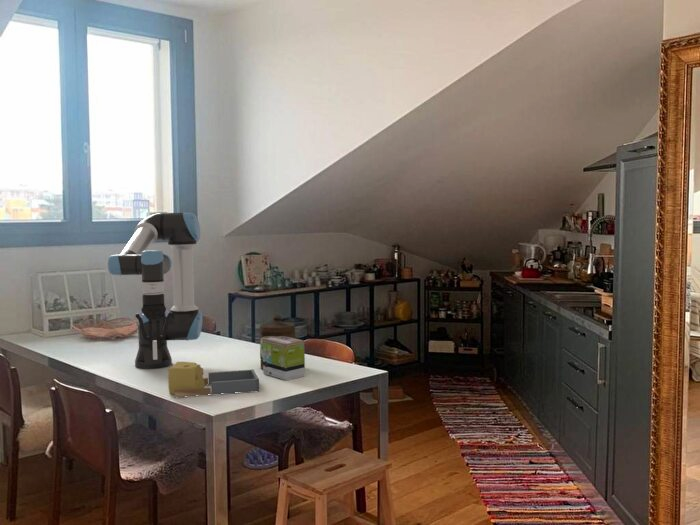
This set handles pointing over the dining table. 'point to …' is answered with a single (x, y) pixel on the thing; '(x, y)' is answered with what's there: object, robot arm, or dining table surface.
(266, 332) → the wooden container
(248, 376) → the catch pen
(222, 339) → the dining table surface
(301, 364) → the tea box
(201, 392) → the lane rails
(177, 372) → the cheese
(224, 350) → the dining table surface
